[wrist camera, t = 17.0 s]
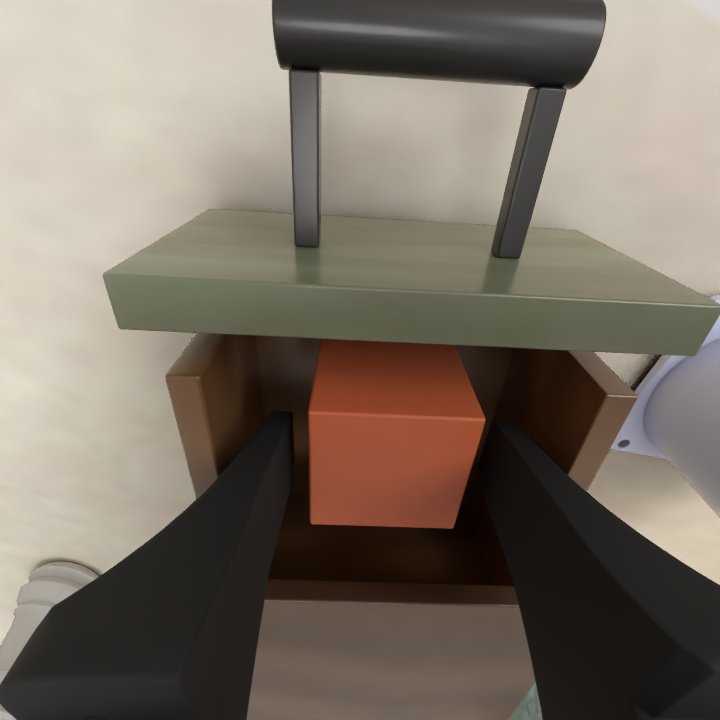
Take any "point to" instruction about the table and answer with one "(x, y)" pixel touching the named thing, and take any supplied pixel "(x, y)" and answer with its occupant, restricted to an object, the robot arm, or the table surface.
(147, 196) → the table surface
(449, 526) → the block
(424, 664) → the cabinet
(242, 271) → the drawer
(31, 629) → the rook chess piece
